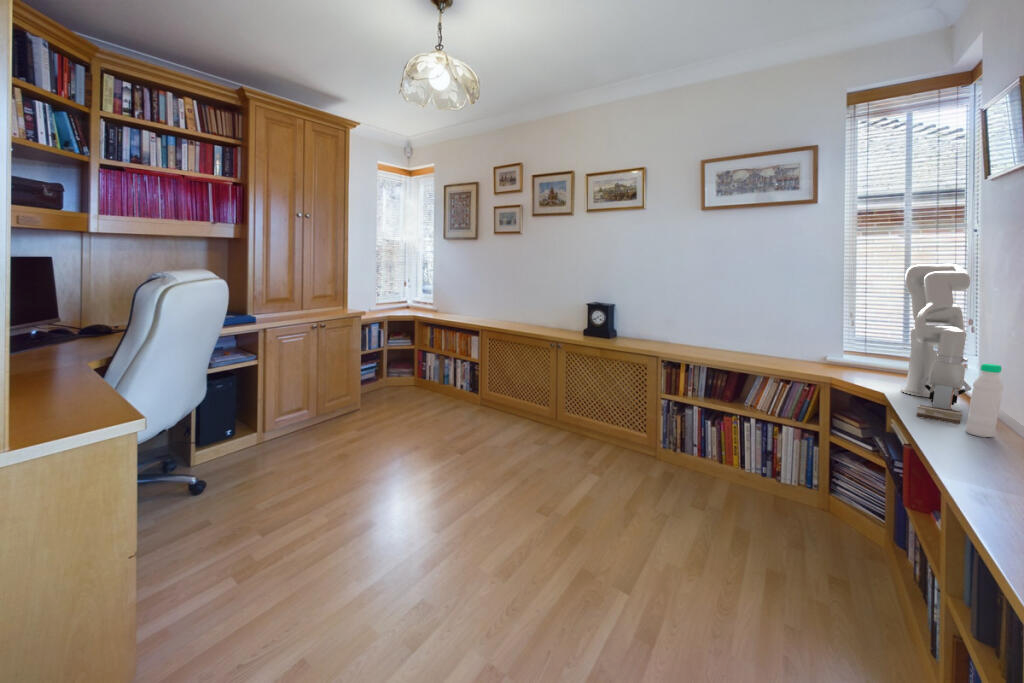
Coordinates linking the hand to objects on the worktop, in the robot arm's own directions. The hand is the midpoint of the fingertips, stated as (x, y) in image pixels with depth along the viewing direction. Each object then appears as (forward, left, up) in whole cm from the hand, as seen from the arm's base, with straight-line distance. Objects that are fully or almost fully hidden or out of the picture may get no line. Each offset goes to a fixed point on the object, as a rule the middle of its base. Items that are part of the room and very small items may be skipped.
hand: (942, 402), depth 180 cm
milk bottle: (+29, +11, -3) cm, 31 cm away
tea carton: (0, 0, -3) cm, 3 cm away
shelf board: (+13, 0, -3) cm, 13 cm away
